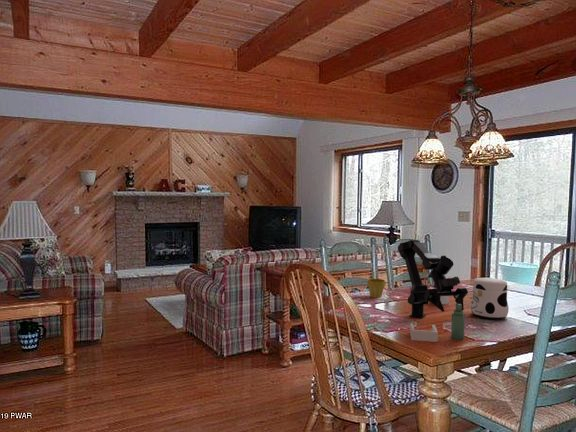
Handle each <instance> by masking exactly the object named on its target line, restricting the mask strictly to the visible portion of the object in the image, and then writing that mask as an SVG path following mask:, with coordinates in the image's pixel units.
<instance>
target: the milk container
mask: <svg viewBox="0 0 576 432" xmlns="http://www.w3.org/2000/svg"><path fill="white" fill-rule="evenodd" d="M472 286H473V287H472V298H471V301H470V311H471V313H472V314H473V315H475V316H477V317H480V318H484V319H488V320H502V319H504V318H506V317H507V316H508V314H509V309H510V308H509V304H508V282H507V281H506V280H503V279H499V278H493V277H491V278H490V277H477V278H474V279H473V283H472Z"/></svg>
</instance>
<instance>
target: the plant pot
mask: <svg viewBox="0 0 576 432" xmlns="http://www.w3.org/2000/svg"><path fill="white" fill-rule="evenodd" d="M366 283H367V286H368V291H369V296H370V298H376V299H379V298H382V297H383V292H384V289H385V287H386V280H385V279H381V278H368V279H367V282H366Z"/></svg>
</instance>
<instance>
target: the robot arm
mask: <svg viewBox="0 0 576 432" xmlns="http://www.w3.org/2000/svg"><path fill="white" fill-rule="evenodd" d="M397 251H398V254H399V255H400V257H401V258H402V259H403V260H404V263H405V266H406V269H407V273H408V276H409V280H410V283H411V284H410V285H411V288H410V294H409V296H408V297H407V303H408V304H409V305H411V313H410V314H409V317H412V318H418V319H423V318H425V317H426V316H427V315H426V314H425V313H424V312H425V310H424V309H425V305H428V304H429V303H431V304H433V305H434V306H435V307H436V308H437V309H438V310H440V311H441V312H442V313H444V312H445V308H444V304H443V305H442V303H441V301H440V296H449V297H453V298H454V299H455V300H454V302H455V304H457V303H458V304H462V311H463V312H464V308H465V307H464V298H466V296H467V295H468V294H469V291H468V289H467V288H466V287H457V288H456V290H455V291H454V289H455V287H456V286H458V285H459V284H461V281H460V278H459V277H458V276H454V277H448V278H447V277H446V275H448V273H449V272H450V270H451V269H452V268H453V266H454V262H453V260H452V259H450V258H449V257H447V256H446V255H441V256H440V257H439V256H437V255H436V254H433V253H431V252H429V250H428V249H427V248H426V247H425V246H424V245H423V244H422V243H421V241H420V240H419V239H410V240H408V241H405V242H400V243H399V245H398V246H397ZM416 255H417V256H418V257H419V258H420V259H421V264H422V266H423V268H424V269H425V270H426V271H427V270H428V271H429V270H431V271H429V274H428V278H430V279H431V280H432V281H433V284H434V285H433V288H428V285H427V284H424V283H422V278H421V276H420V271H419V269H418V265H417V262H416V258H415V256H416ZM435 288H436V289H435Z"/></svg>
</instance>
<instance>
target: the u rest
mask: <svg viewBox="0 0 576 432" xmlns="http://www.w3.org/2000/svg"><path fill="white" fill-rule="evenodd" d="M409 334H410V339H411V341H419V342H421V341H422V342H430V343H431V342H432V343H433V342H434V343H439V342H438V339H439V336H438V335H439V332H438V330H437V326H436V325H435V324H432V325H431V330H423V329H415V327H414V323H412V322H411V323H409Z"/></svg>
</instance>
